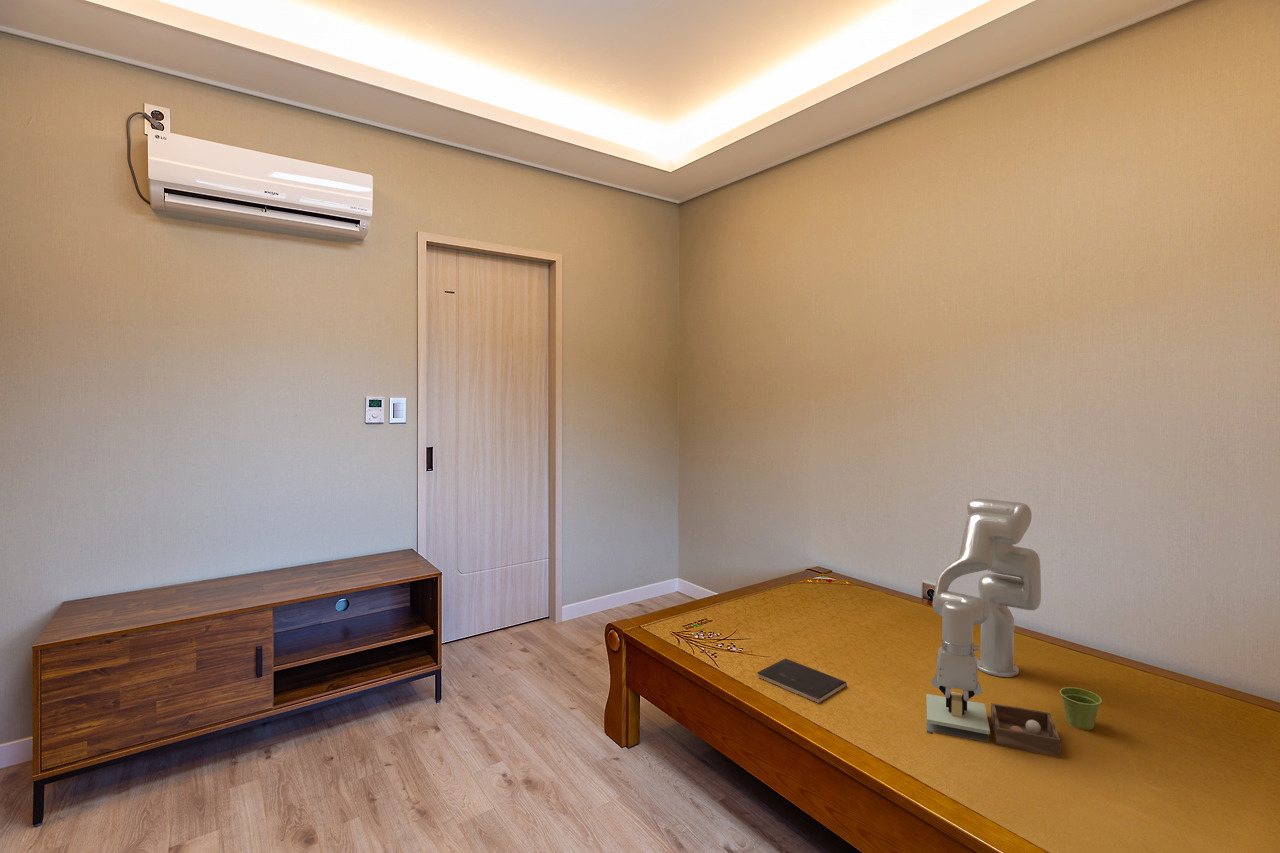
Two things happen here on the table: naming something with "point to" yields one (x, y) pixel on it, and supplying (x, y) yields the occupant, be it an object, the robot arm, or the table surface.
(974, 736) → the felt mat
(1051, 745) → the walnut box
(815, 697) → the hardcover book
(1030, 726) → the cream ball
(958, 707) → the lid
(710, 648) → the table surface
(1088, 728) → the plant pot
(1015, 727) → the terracotta ball
